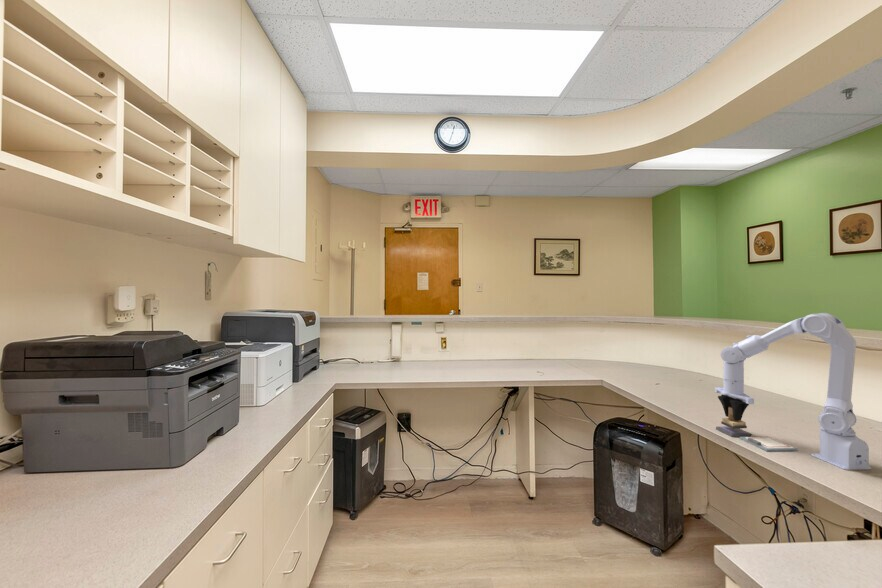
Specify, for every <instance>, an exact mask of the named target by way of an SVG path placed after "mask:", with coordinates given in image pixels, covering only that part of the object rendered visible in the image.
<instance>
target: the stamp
mask: <svg viewBox="0 0 882 588" xmlns="http://www.w3.org/2000/svg"><path fill="white" fill-rule="evenodd" d="M720 422H721V425H722V426H723V425H724V426H728V427H730V428H732V429H739V428H740V429H747V428H748V427H747V423H746V421H743V420H742V419H741V420H734V418H733V409H732V406H729V407H728V417H725V418H722V421H720Z"/></svg>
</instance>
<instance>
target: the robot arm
mask: <svg viewBox="0 0 882 588" xmlns="http://www.w3.org/2000/svg"><path fill="white" fill-rule="evenodd" d="M806 333H807V334H810V335H812V336H814V337H817V338H820V339H821V340H823V342H825V343H826V344H828V345H829V346H830V357H829V358H830V359H829V368H828V379H827V380H828V381H827V393H826V394H827V395H826V399H825V402H824V405H823V411H822V412H821V413H820V414H819V416H818V418H817V419H818V423H819V425H820V426H819V453H811V456H812V457H814V458H817V459H819V460H821V461H824V462H825V463H829V464H830V465H833V466H835V467H837V468H840V469H842V470H845V471H846V470H847V471H852V470H853V471H854V470H855V471H857V470H858V471H859V470H861V471H862V470H872V467H870V465H869V460H870V459H869V458H870V456H869V455H870V452H869V451H870V450H869V445H868V443H867V442H866V441H865V440H863V439H861V438H860V437H858V436H857V434H856V433H857V432H856V431H855V430H854V429H853V428H852V427H854V425H856V423H857V417H856V415H855V412H854V411H853V410H854V409H853V402H852V395H853V383H854V382H853V381H854V371H855V362H856V361H855V359H856V350H857V349H856V348H857V341H856V339H855V338H854V336H853V335H852V334H851V332H850V331H849V329H848V328H847V327H846V326H845V324H844V322H843V320H841V319H840V318H838V317H836V316H835V315H833V314H830V313H828V312H819V313H811V314H807V315H806V316H804V317H799V318H796V319H794V320H791V321H788V322H787V323H784V324H782V325H781V326H779V327H776V328H775V329H773V330H771V331H768V332H767V333H765V334H763V335H758V334H753V335H752V334H748V335H747V336H745V337H746V338H745V339H743V340H740V341H739V342H732V345H733V346H725V348H723V349H722V350H721V352H720V357H721V359H722V361H723V366H722V369H723V374H722V376H723V377H722V378H723V384H722V385H723V387H720V386H714V393H717V394H720V395H718V396H717V399H718V400H719V401H720V404H721V405H722V408H723V411H724V414H725V418H728V407H729V406H732V409H733V418H734V420H741V421H742V418H743V415H744V412H745V410H747V408H748V407H749V405H754V404H755V398H754V397H751V396H749V395H747V394H745V392H744V391H745V387H744V386H745V381H744V380H745V378H744V377H745V376H744V375H745V373H744V372H745V367H744V365H745V363H744V362H745V361H746V360H747V359H749V358H751V357H753V356H756V355H758V354H761V353H762V352H765V351H767V350H768V349H769V345H770V344H772V343H775V342H777V341H779V340H782V339H784V338H787V337H789V336H792V335H794V334H806Z"/></svg>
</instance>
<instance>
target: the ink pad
mask: <svg viewBox="0 0 882 588" xmlns="http://www.w3.org/2000/svg"><path fill="white" fill-rule="evenodd" d="M715 430H717V431H719V432H721V433H723V434H725V435H727V436H729V437H732V438H740V437H752V433H751V432H748V431H747V430H743V428H739V429H732V428H730V427H728V426H726V425H724V426H723V425H722V426H716V427H715Z"/></svg>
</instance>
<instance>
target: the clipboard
mask: <svg viewBox="0 0 882 588" xmlns="http://www.w3.org/2000/svg"><path fill="white" fill-rule="evenodd" d="M739 439H740V440H742V441H744V442H746V443H748V444H750V445H753V446H754V447H756V448H759V449H761V450H762V451H765V452H798V448H796V447H794V446H791V445H789V444H786V443H785V442H782V441H780V440H777V439H775V438H773V437H771V436H767V435H765V436H763V435H762V436H751V437H739Z"/></svg>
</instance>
